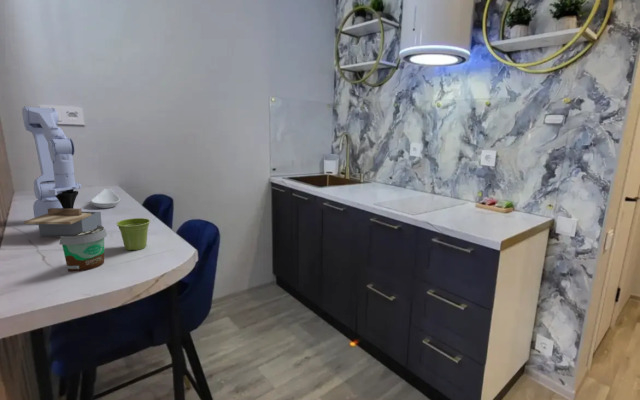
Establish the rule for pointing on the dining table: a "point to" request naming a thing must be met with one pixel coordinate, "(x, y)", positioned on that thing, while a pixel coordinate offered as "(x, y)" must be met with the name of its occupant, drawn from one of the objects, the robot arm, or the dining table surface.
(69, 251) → the food container
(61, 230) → the box
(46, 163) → the robot arm
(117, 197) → the spoon rest
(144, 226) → the plant pot
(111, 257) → the dining table surface
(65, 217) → the lid
